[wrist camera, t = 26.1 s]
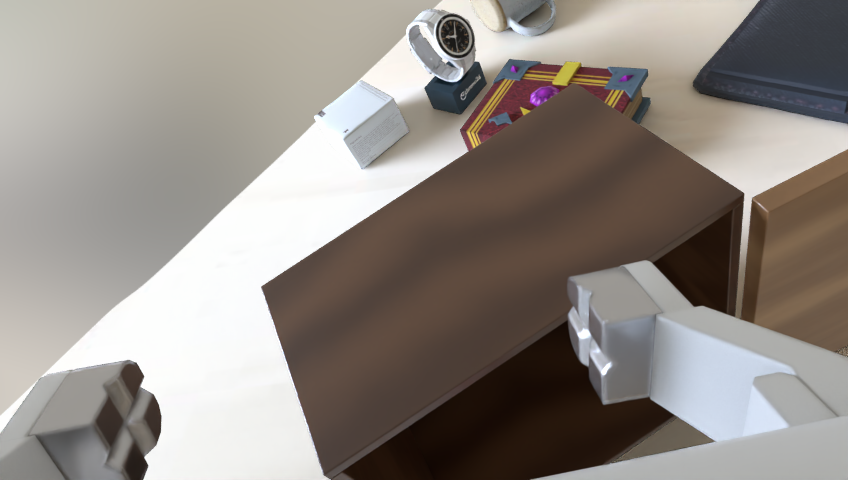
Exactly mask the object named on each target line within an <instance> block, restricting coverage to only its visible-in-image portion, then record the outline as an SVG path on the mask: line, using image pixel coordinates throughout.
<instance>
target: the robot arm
mask: <svg viewBox="0 0 848 480" xmlns="http://www.w3.org/2000/svg"><path fill="white" fill-rule="evenodd" d="M567 296H568V298H569V300H570V301H571V303H572V305H573V307H572V309H571V310H570V312H569V313H568V329H569V334H570V339H571V343H572V346H573V349H574V351H575V354H576V356H577V357H578V359H579V361H580V363H582V364H584V365H586V366H588V367H589V380H590V381H591V383H592V385H593V387H594V389H595V390H596V392H597V394H598V396H599V397H600V399H601V401H602V403H603V405H605V404H611V403H617V402H623V401H629V400H634V399H640V398H646V397H650V399H651V400H653V401H654V402H656V403H657V404H659V405H660V406H662V407H663V408H665V409H667V410H668V411H670V412H671V413H673V414H674V415H676V416H677V417H679V418H680V419H682V420H683V421H685V422H687V423H688V424H690V425H691V426H693V427H694V428H696V429H697V430H699V431H700V432H702V433H704V434H705V435H707V436H708V437H710V438H711V439H713V440H714V441H716V442H713V443H708V444H703V445H698V446H693V447H688V448H683V449H678V450H674V451H669V452H664V453H659V454H654V455H649V456H645V457H640V458H635V459H630V460H625V461H620V462H616V463H611V464H606V465H601V466H596V467H591V468H586V469H581V470H576V471H571V472H566V473H561V474H556V475H551V476H546V477H541V478H536V479H531V480H848V357H846V356H843V355H841V354H838V353H835V352H832V351H829V350H826V349H824V348H821V347H818V346H815V345H812V344H809V343H807V342H804V341H801V340H798V339H795V338H792V337H790V336H787V335H784V334H781V333H778V332H775V331H773V330H770V329H767V328H764V327H761V326H758V325H756V324H753V323H750V322H747V321H744V320H741V319H739V318H736V317H733V316H730V315H727V314H724V313H722V312H719V311H716V310H713V309H710V308H707V307H705V306H698V307H694V306H693V305H692V304H691V303H690V302H689V301H688V300H687V299H686V298H685V297H684V296H683V295H682V294H681V293H680V292H679V291H678V290H677V289H676V288H675V286H674V285H673V284H672V283H671V282H670V281H669V280H668V279H667V278H666V277H665V276H664V275H663V274H662V273H661V272H660V271H659V270H658V269H657V268H656V267H655V266H654V265H653V263H652V262H650V261H647V260H644V261H639V262H635V263H631V264H626V265H622V266H620V267H615V268H610V269H605V270H600V271H595V272H591V273H586V274H581V275H576V276H571V277H568V281H567ZM143 379H144V375H143V373H142V372H141V370H140V368H139V366H138V365H137V363H135V362H133V361H130V360H126V361H120V362H114V363H108V364H102V365H97V366H91V367H85V368H79V369H75V370H68V371H62V372H57V373H52V374H48V375H46V376H44V377H41V378H40V379H39V380H38V382H37V383H36V384H35V386H34V387H33V389H32V390H31V391H30V393H29V394H28V396H27V397H26V398H25V400H24V401H23V403H22V404H21V405H20V407H19V408H18V410H17V411H16V412H15V414H14V415H13V417H12V418H11V420H10V421H9V422H8V424H7V425H6V427H5V428H4V429H3V431H2V432H1V434H0V480H143V479H144V476H145V473H146V471H147V468H148V464H147V462H146V460H145V459H144V456H145V455H147V454H148V453H149V452H150V451H151V450H152V449H153V448H154V447H155V446H156V444H157V441H158V439H159V436H160V433H161V413H160V409H159V404H158V402H157V400H156V398H155V396H154V394H152V393H150V392H148V391H147V390H145V389H143V388H141V384H142V381H143Z"/></svg>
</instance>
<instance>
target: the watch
mask: <svg viewBox="0 0 848 480" xmlns="http://www.w3.org/2000/svg"><path fill="white" fill-rule="evenodd" d="M421 24H422V25H424V26H426V27H425V28H424V30H425V31H426V33H427V34H428V36H429V37H430V39H431V41H432V45H433V47H434V49H435V50H434V49H433V48H432V46H431V45H430V44H429V42H428V41H427V39H426V38H423V36H422V34H421V33H420V29H419V25H421ZM406 32H407V33H406V37H407V41H408V43H409V46H410V50H411V52H412V53H413V55H414V56H415V57H416V59H417V60H418V61H419V63H420V64H421V65H422V66H423V68H425V69H426V70H427V71H428V72H429V73H430V74H433V75H435V77H434V78H433V79H432V80H431V81H430V82H429V84H428V85H427V86H426V87H425V91H426V93H427V95H428V97H429V99H430V102H431V104H432V106H433V108H434V109H438V110H443V111H447V112H452V113H457V114H462V112H463V111H464V110H465V109H466V108H467V106H468V105H469V104H470V103H471V102H472V101H473V99H474V98H475V97H476V96H477V95H478V93H479V92H480V91H481V90H482V89H483V87H484V86H485V85H486V84H487V83H486V80H485V77H484V74H483V71H482V68H481V66H480V63H479V62H474V61H475V51H476V48H475V36H474V33H473V29H472V27H471V26H470V23H469V21H468V20H466V19H464V18H463V17H462V16H460V15H457V14H454V13H449V12H447V11H444V10H441V11H440V10H435V9H434V10H433V9H428V10H424V11H423V12H421V14H419V16H418V17H416V19H415V20H414V21H413V22H412V23H411V24H410V25H409V26H408V28H407V31H406ZM441 57H442V58H443V59H445V60H448V62H447V63H446V64H445V63H444V62H443V61H441V60H442V58H441Z"/></svg>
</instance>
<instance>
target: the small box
mask: <svg viewBox="0 0 848 480" xmlns="http://www.w3.org/2000/svg"><path fill="white" fill-rule="evenodd" d="M314 118H315V120H316V122H317V123H318V125H319V126H320V128H321V130H322V131H323V133H324V134H325V136H326V137H327V139H328V140H329V142H330V143H331V145H332V146H333V147H334V148H335V149H336V150H338V151H339V152H340V153H341V154H343V155H344V156H345V157H346V158H348V159H349V160H350V161H351V162H353V163H354V164H355V165H356V166H358V167H359V168H360V169H363V168H365V167H366V166H367V165H369V164H370V163H371V162H372V161H374V160H375V159H376V158H377V157H378V156H380V155H381V154H382V153H383V152H384V151H386V150H387V149H388V148H389V147H391V146H392V145H393V144H394V143H395V142H397V141H398V140H399V139H400V138H402V137H403V136H404V135H405V134H406V133H408V132H409V128H408V126H407V124H406V122H405V120H404V118H403V116H402V114H401V112H400V110H399V108H398V106H397V105H396V103H395V101H394V98H392V97H391V96H389V95H387V94H386V93H384V92H382V91H380V90H378V89H377V88H375V87H373V86H371V85H369V84H367V83H366V82H364V81H362V80H361V81H359V82H358V83H356V84H355V85H354V86H352V87H351V88H350V89H349V90H347V91H346V92H345V93H344V94H342V95H341V96H340V97H339V98H338V99H336V100H335V101H334V102H332V103H331V104H330V105H328V106H327V107H326V108H324V109H323V110H322V111H321V112H319V113H318V114H317V115H316V116H315V117H314Z"/></svg>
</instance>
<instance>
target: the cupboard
mask: <svg viewBox="0 0 848 480" xmlns="http://www.w3.org/2000/svg"><path fill="white" fill-rule="evenodd" d="M743 202H744V193H743V192H742V191H740V190H739V189H737V188H736V187H734V186H732V185H731V184H729V183H728V182H726V181H725V180H723V179H722V178H720V177H719V176H717V175H716V174H714V173H713V172H711V171H709V170H708V169H706V168H705V167H703V166H702V165H700V164H699V163H697V162H696V161H694V160H693V159H691V158H690V157H688V156H686V155H685V154H683V153H682V152H680V151H679V150H677V149H676V148H674V147H673V146H671V145H670V144H668V143H666V142H665V141H663V140H662V139H660V138H659V137H657V136H656V135H654V134H653V133H651V132H650V131H648V130H647V129H645V128H643V127H642V126H640V125H639V124H637V123H636V122H634V121H633V120H631V119H630V118H628V117H627V116H625V115H624V114H622V113H620V112H619V111H617V110H616V109H614V108H613V107H611V106H610V105H608V104H607V103H605V102H604V101H602V100H600V99H599V98H597V97H596V96H594V95H593V94H591V93H590V92H588V91H587V90H585V89H584V88H582V87H581V86H579V85H577V84H576V83H573V84H571V85H570V86H568V87H567V88H565V89H564V90H562V91H561V92H559V93H557V94H556V95H554V96H553V97H551V98H550V99H548V100H547V101H545V102H544V103H542V104H541V105H539V106H538V107H536V108H534V109H533V110H531V111H530V112H528V113H527V114H525V115H524V116H522V117H521V118H519V119H518V120H516V121H515V122H513V123H511V124H510V125H508V126H507V127H505V128H504V129H502V130H501V131H499V132H498V133H496V134H495V135H493V136H492V137H490V138H488V139H487V140H485V141H484V142H482V143H481V144H479V145H478V146H476V147H475V148H473V149H472V150H470V151H469V152H467V153H465V154H464V155H462V156H461V157H459V158H458V159H456V160H455V161H453V162H452V163H450V164H449V165H447V166H446V167H444V168H442V169H441V170H439V171H438V172H436V173H435V174H433V175H432V176H430V177H429V178H427V179H426V180H424V181H423V182H421V183H419V184H418V185H416V186H415V187H413V188H412V189H410V190H409V191H407V192H406V193H404V194H403V195H401V196H400V197H398V198H396V199H395V200H393V201H392V202H390V203H389V204H387V205H386V206H384V207H383V208H381V209H380V210H378V211H377V212H375V213H373V214H372V215H370V216H369V217H367V218H366V219H364V220H363V221H361V222H360V223H358V224H357V225H355V226H354V227H352V228H350V229H349V230H347V231H346V232H344V233H343V234H341V235H340V236H338V237H337V238H335V239H334V240H332V241H331V242H329V243H327V244H326V245H324V246H323V247H321V248H320V249H318V250H317V251H315V252H314V253H312V254H311V255H309V256H307V257H306V258H304V259H303V260H301V261H300V262H298V263H297V264H295V265H294V266H292V267H291V268H289V269H288V270H286V271H284V272H283V273H281V274H280V275H278V276H277V277H275V278H274V279H272V280H271V281H269V282H268V283H266V284H265V285H263V286H262V287H261V289H262V292H263V295H264V298H265V301H266V304H267V307H268V310H269V313H270V316H271V319H272V322H273V325H274V328H275V331H276V334H277V337H278V340H279V343H280V346H281V349H282V352H283V355H284V358H285V361H286V364H287V367H288V370H289V373H290V376H291V379H292V382H293V385H294V388H295V391H296V394H297V397H298V400H299V403H300V406H301V409H302V412H303V415H304V418H305V421H306V424H307V427H308V430H309V433H310V436H311V439H312V442H313V445H314V448H315V451H316V454H317V457H318V460H319V463H320V466H321V469H322V472H323V475H324V476H326V477H327V478H329V479H331V480H531V479H536V478H541V477H546V476H551V475H556V474H561V473H566V472H571V471H576V470H581V469H586V468H591V467H596V466H601V465H606V464H610V463H611V462H613V461H614V460H616V459H617V458H619V457H620V456H622V455H623V454H624V453H626V452H627V451H629V450H630V449H632V448H633V447H635V446H636V445H638V444H639V443H641V442H642V441H643V440H645V439H646V438H648V437H649V436H651V435H652V434H654V433H655V432H657V431H658V430H660V429H661V428H662V427H664V426H665V425H667V424H668V423H670V422H671V421H673V420H674V419H676V418H677V416H676V415H674V414H673V413H671V412H670V411H668V410H667V409H665V408H663V407H662V406H660V405H659V404H657V403H656V402H654V401H653V400H651V399H650V397H646V398H640V399H634V400H629V401H623V402H617V403H611V404H605V405H603V403H602V401H601V399H600V397H599V396H598V394H597V392H596V390H595V389H594V387H593V385H592V383H591V381H590V380H589V367H588V366H586V365H584V364H582V363H580V361H579V359H578V357H577V356H576V354H575V351H574V349H573V346H572V343H571V339H570V334H569V329H568V313H569V312H570V310H571V309H572V307H573V305H572V303H571V301H570V300H569V298H568V296H567V281H568V277H571V276H576V275H581V274H586V273H591V272H595V271H600V270H605V269H610V268H615V267H620V266H622V265H626V264H631V263H635V262H639V261H644V260H647V261H650V262H652V263H653V265H654V266H655V267H656V268H657V269H658V270H659V271H660V272H661V273H662V274H663V275H664V276H665V277H666V278H667V279H668V280H669V281H670V282H671V283H672V284H673V285H674V286H675V288H676V289H677V290H678V291H679V292H680V293H681V294H682V295H683V296H684V297H685V298H686V299H687V300H688V301H689V302H690V303H691V304H692V305H693V306H694V307H698V306H705V307H707V308H710V309H713V310H716V311H719V312H722V313H724V314H727V315H730V316H733V317H735V310H736V297H737V284H738V271H739V258H740V245H741V232H742V219H743V206H744V203H743Z"/></svg>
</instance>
